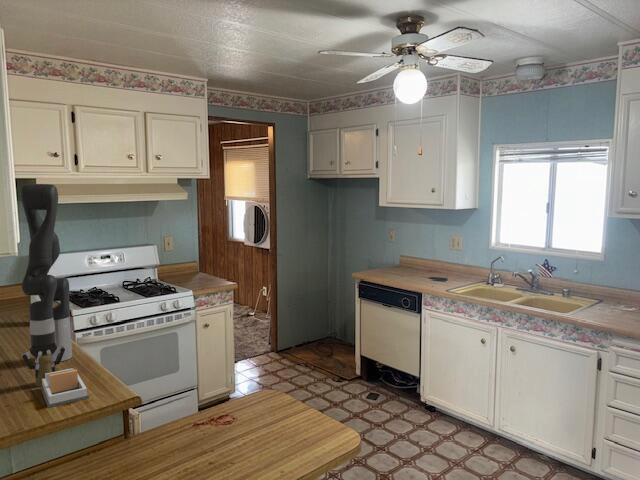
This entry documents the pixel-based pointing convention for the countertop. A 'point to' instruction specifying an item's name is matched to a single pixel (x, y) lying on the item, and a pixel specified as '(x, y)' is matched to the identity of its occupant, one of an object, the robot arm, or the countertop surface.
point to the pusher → (63, 381)
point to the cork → (43, 368)
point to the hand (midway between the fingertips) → (45, 377)
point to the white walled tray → (63, 392)
